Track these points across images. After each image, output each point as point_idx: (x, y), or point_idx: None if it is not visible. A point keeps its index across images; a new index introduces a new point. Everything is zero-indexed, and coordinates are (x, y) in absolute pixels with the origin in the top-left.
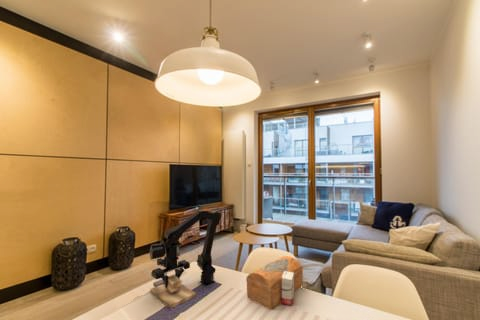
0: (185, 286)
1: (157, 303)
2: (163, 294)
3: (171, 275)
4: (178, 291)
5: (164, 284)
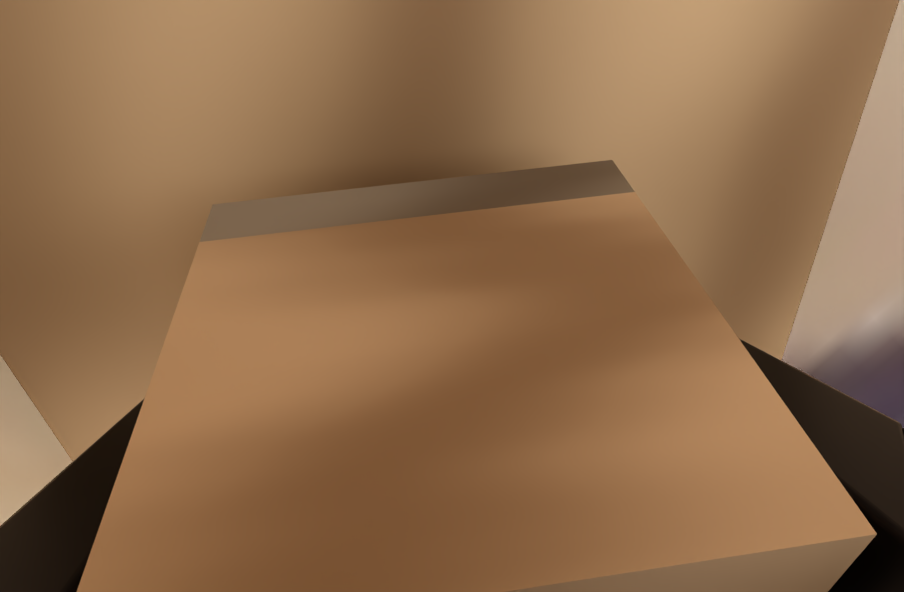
0: (787, 330)
1: (10, 434)
2: (149, 370)
3: (629, 579)
4: None
5: (126, 426)
